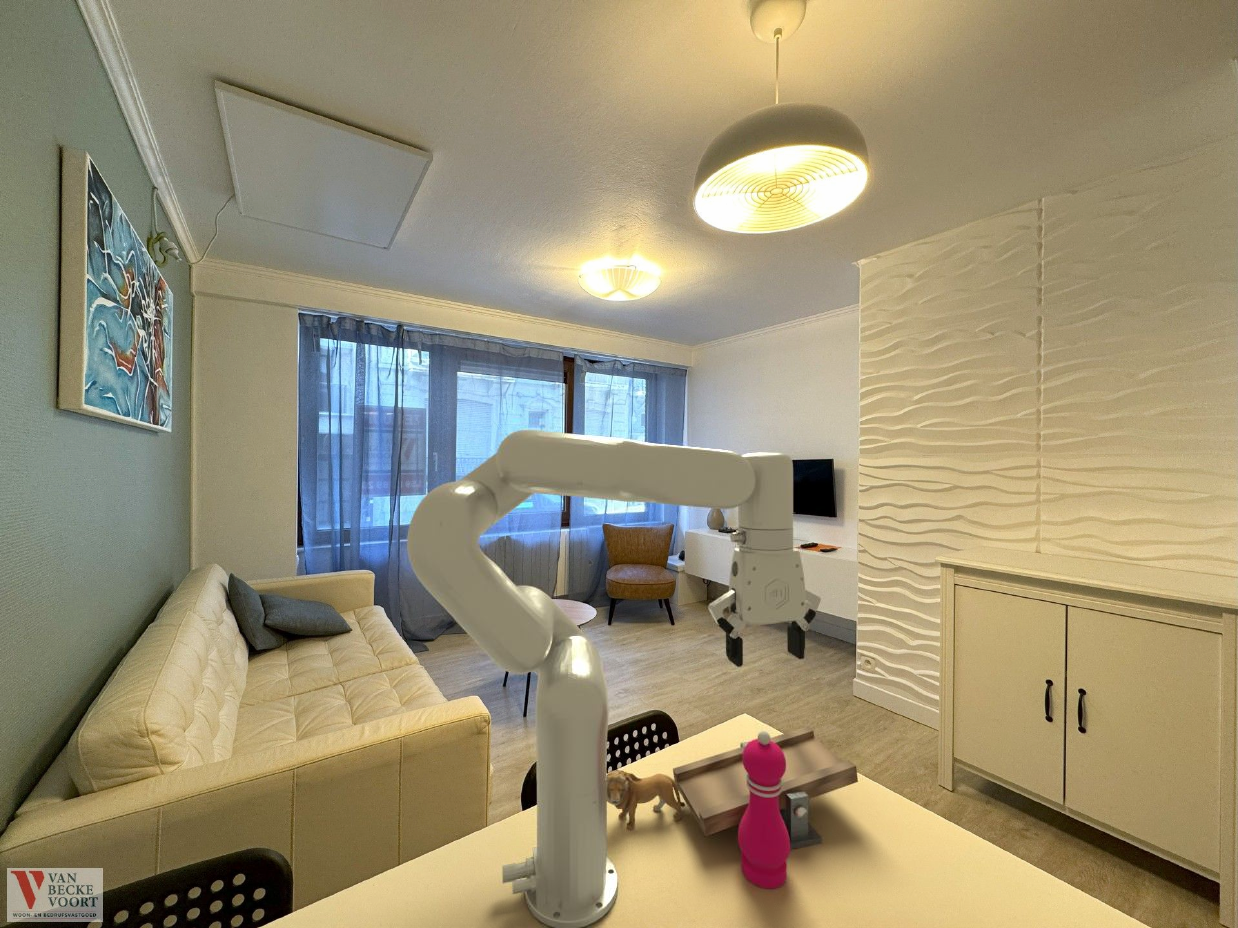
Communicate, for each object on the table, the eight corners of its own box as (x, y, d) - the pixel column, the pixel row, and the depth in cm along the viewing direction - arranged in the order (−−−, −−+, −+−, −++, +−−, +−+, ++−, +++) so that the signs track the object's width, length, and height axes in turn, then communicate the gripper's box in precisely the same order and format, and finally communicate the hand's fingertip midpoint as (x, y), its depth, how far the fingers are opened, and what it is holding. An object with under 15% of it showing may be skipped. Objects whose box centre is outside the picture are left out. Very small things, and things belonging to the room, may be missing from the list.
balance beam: (705, 835, 75) (703, 818, 75) (674, 783, 87) (672, 768, 87) (858, 781, 82) (856, 765, 82) (809, 740, 94) (808, 726, 94)
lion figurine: (609, 843, 78) (609, 784, 78) (597, 820, 83) (597, 765, 83) (692, 817, 83) (692, 762, 83) (676, 797, 88) (676, 746, 88)
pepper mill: (793, 896, 68) (794, 748, 68) (738, 887, 70) (738, 742, 69) (786, 855, 75) (787, 721, 75) (737, 847, 77) (737, 716, 77)
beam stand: (781, 851, 76) (781, 803, 76) (728, 781, 92) (728, 742, 92) (821, 842, 78) (822, 795, 78) (763, 775, 94) (763, 737, 94)
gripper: (721, 546, 66) (722, 677, 66) (835, 540, 71) (835, 662, 71) (698, 538, 74) (699, 655, 74) (802, 533, 78) (802, 644, 78)
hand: (765, 659), depth 72 cm, fingers open, 9 cm apart
